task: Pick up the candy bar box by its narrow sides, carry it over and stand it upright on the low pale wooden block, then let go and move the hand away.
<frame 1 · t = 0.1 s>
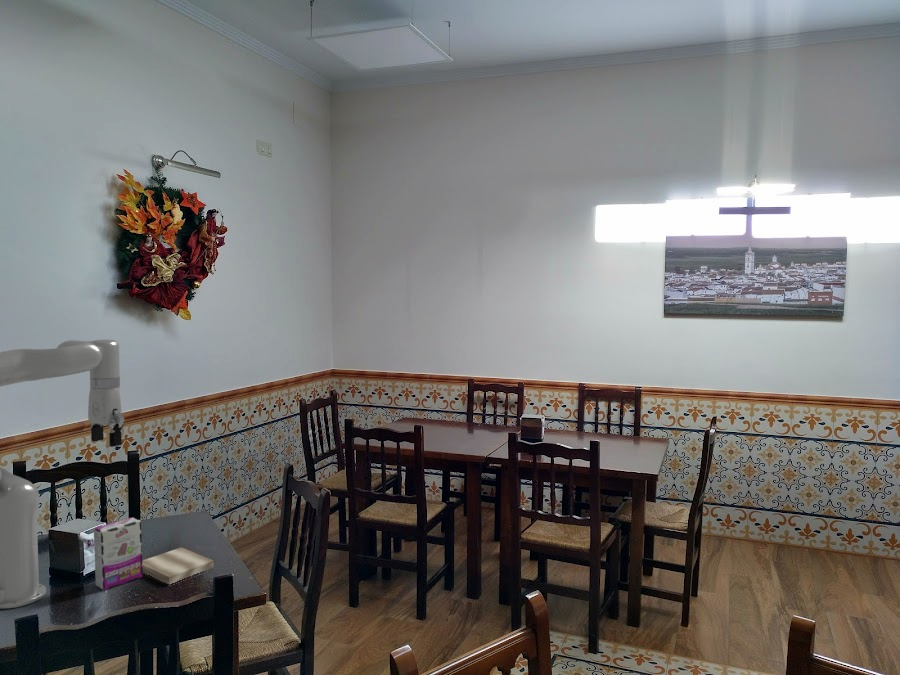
hand: (106, 443, 193), 37 cm above the table, tool pointing down, fingers open, 9 cm apart
candy bar box: (119, 582, 188), on the table
pale wooden block: (175, 571, 196), on the table
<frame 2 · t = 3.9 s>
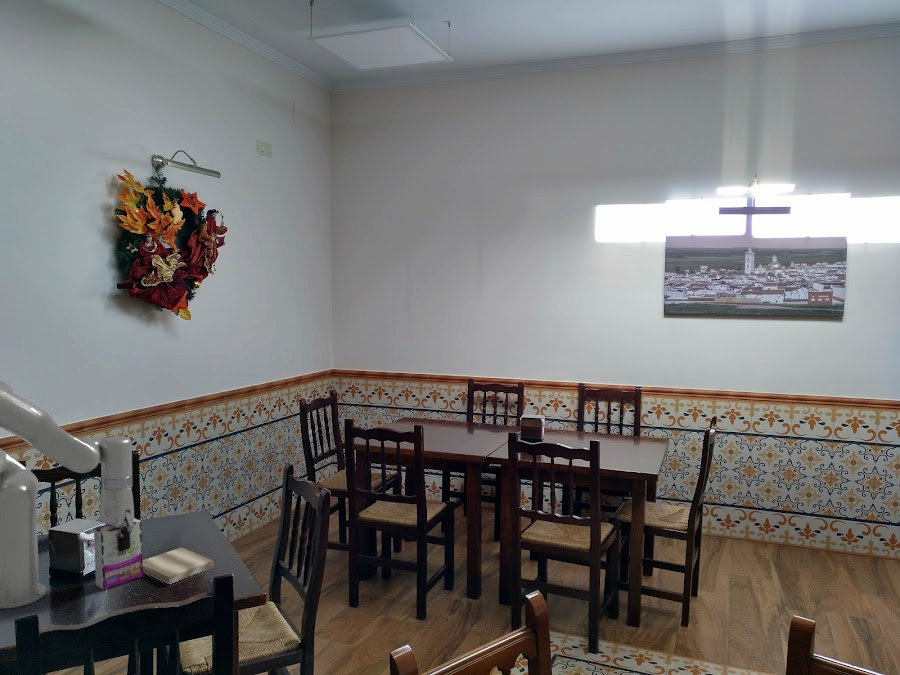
hand: (118, 546, 187), 10 cm above the table, tool pointing down, fingers closed on candy bar box, 5 cm apart
candy bar box: (119, 582, 188), on the table, touching gripper
everything else where it was.
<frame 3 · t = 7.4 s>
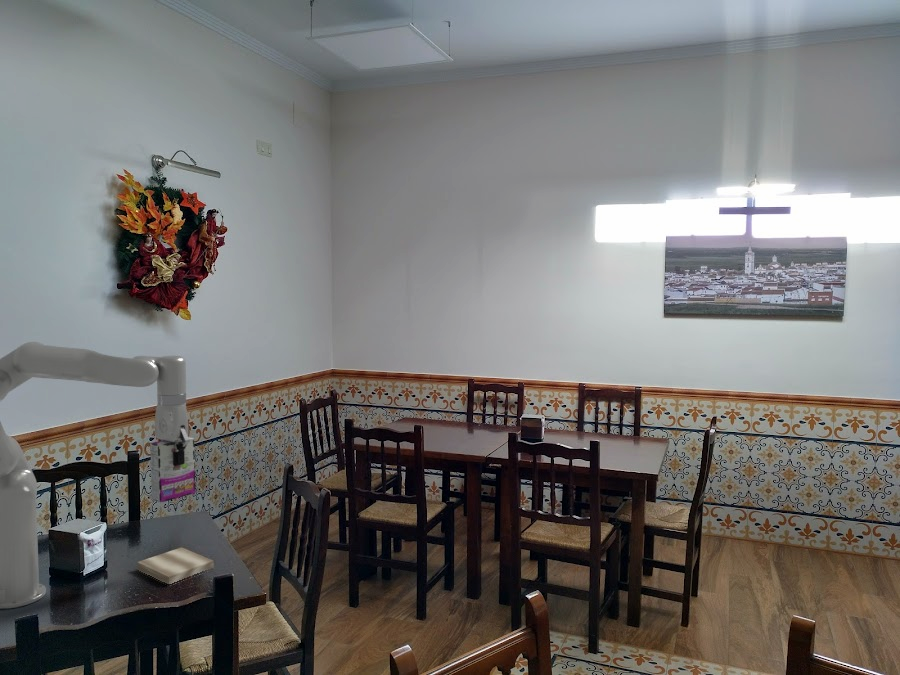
hand: (173, 462, 193), 32 cm above the table, tool pointing down, fingers closed on candy bar box, 5 cm apart
candy bar box: (173, 497, 194), point 21 cm above the table, touching gripper
everything else where it was.
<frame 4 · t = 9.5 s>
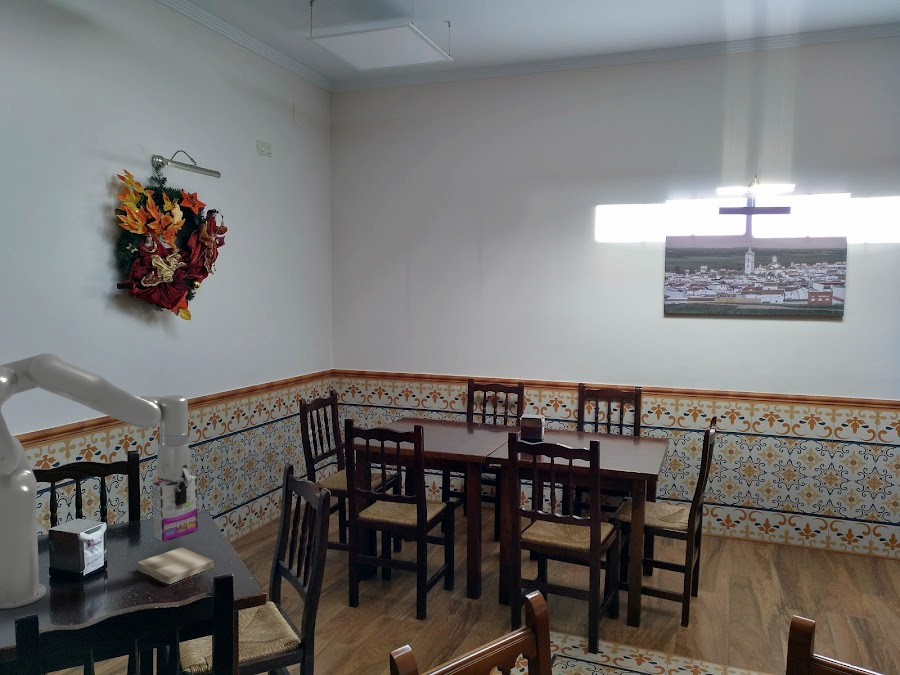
hand: (175, 501, 194), 20 cm above the table, tool pointing down, fingers closed on candy bar box, 5 cm apart
candy bar box: (175, 535, 195), point 10 cm above the table, touching gripper
everything else where it was.
when the fingers open (14 cm above the table, at t = 11.1 s): candy bar box drops 2 cm, resting on pale wooden block.
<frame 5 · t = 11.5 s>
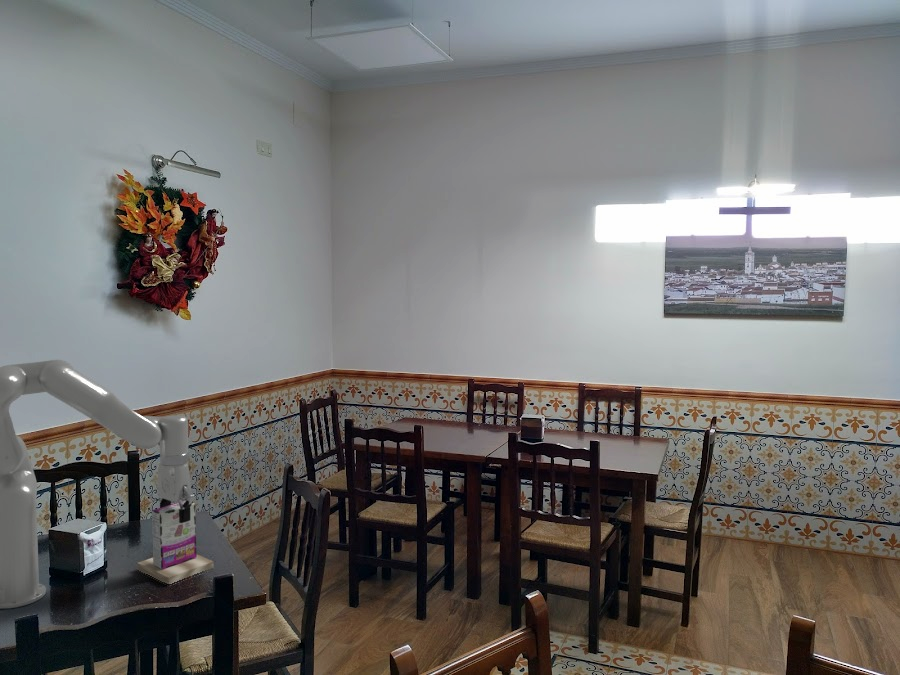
hand: (175, 518, 195), 15 cm above the table, tool pointing down, fingers open, 9 cm apart
candy bar box: (174, 562, 196), point 2 cm above the table, touching pale wooden block
pale wooden block: (175, 572, 196), on the table, touching candy bar box
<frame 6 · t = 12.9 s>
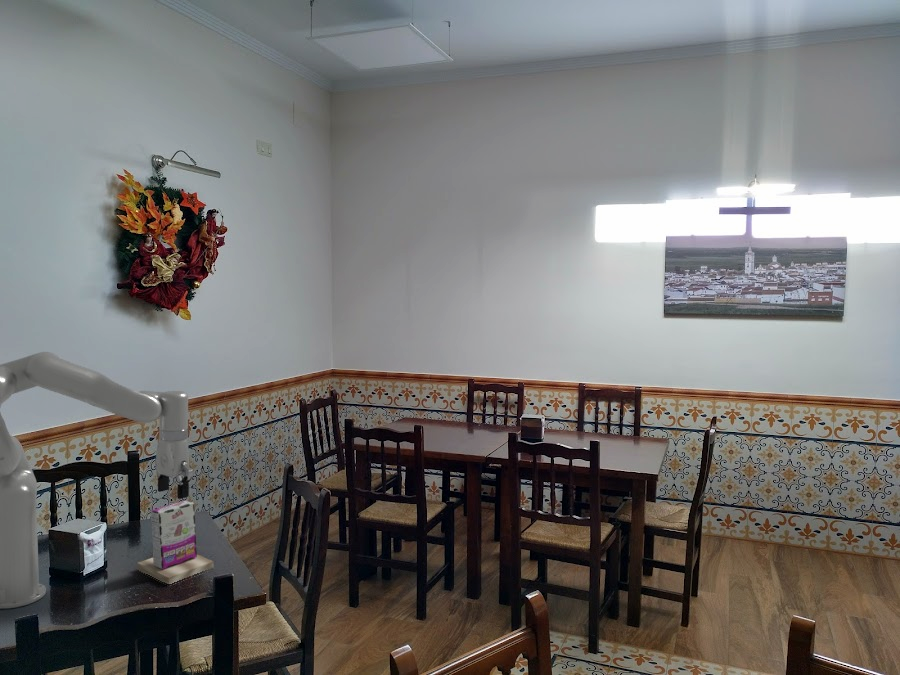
hand: (173, 494, 194), 22 cm above the table, tool pointing down, fingers open, 9 cm apart
nothing on the table moved.
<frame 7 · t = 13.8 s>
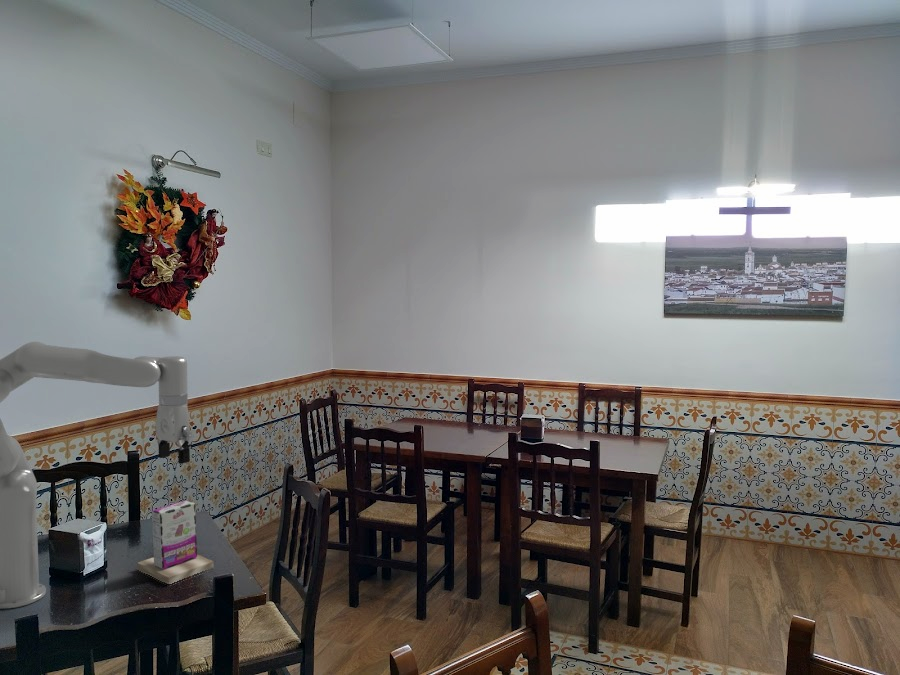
hand: (174, 459, 193), 32 cm above the table, tool pointing down, fingers open, 9 cm apart
nothing on the table moved.
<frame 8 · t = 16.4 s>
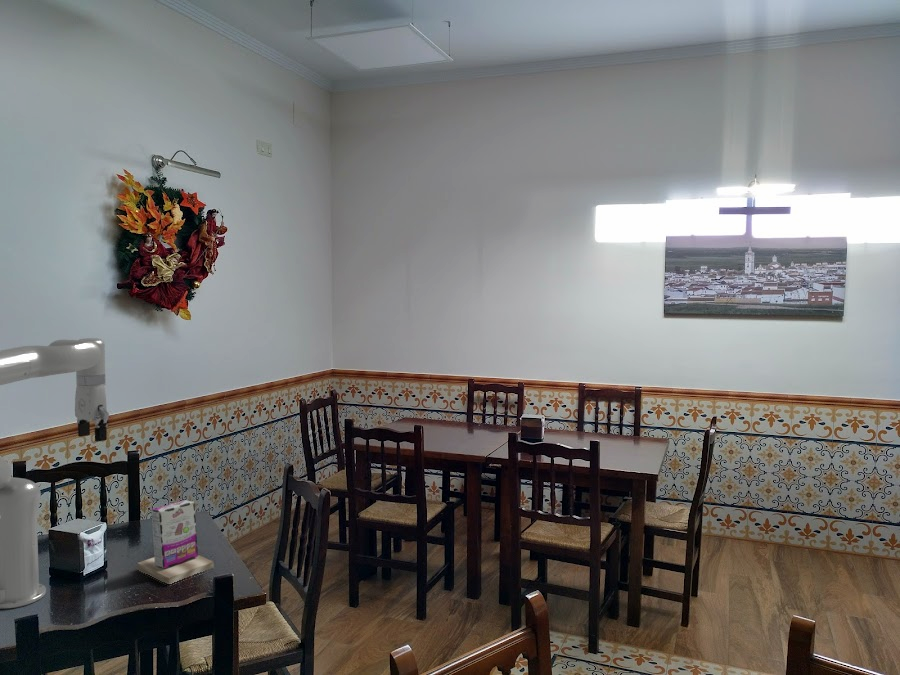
hand: (92, 438, 200), 36 cm above the table, tool pointing down, fingers open, 9 cm apart
at the end: candy bar box 0.2 cm off-centre on the pale wooden block, point 2.9 cm above the pale wooden block's base; candy bar box tilted 1°; the gripper is holding nothing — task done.
